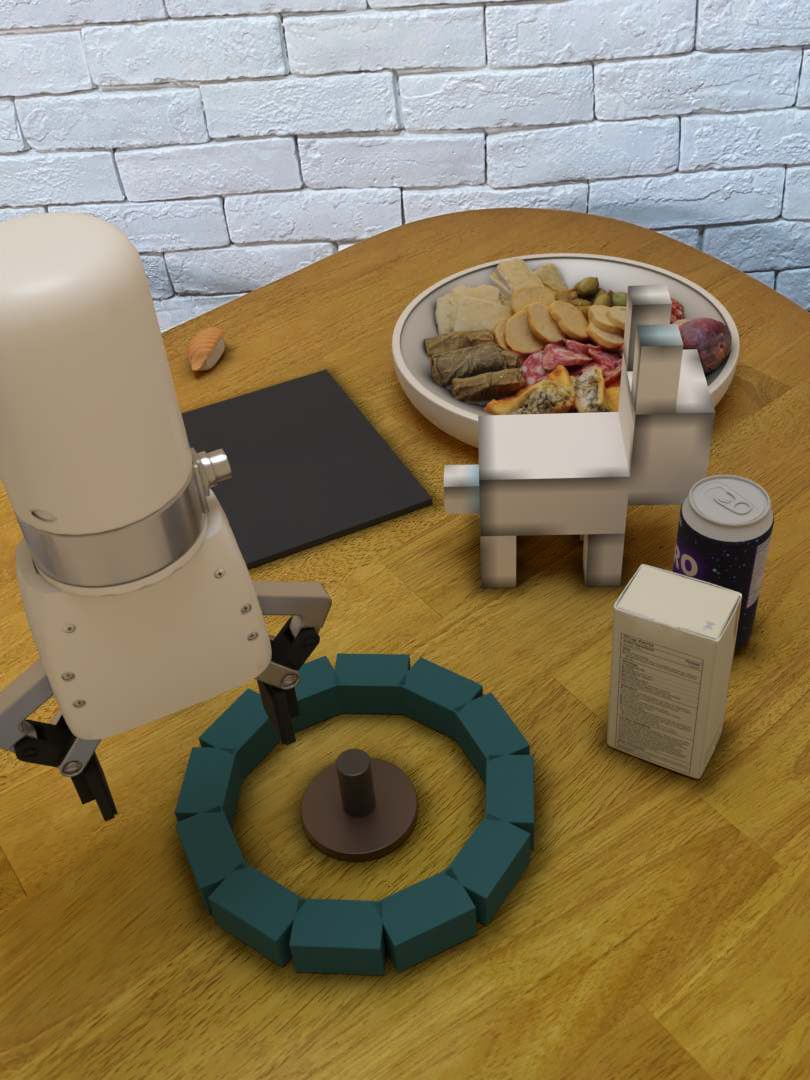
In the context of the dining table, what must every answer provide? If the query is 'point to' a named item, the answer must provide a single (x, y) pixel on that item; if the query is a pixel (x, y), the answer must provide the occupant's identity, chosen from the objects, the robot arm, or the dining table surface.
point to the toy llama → (592, 455)
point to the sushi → (206, 349)
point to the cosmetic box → (671, 668)
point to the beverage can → (726, 540)
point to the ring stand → (359, 807)
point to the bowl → (542, 338)
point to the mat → (301, 467)
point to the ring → (356, 925)
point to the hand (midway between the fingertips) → (194, 761)
